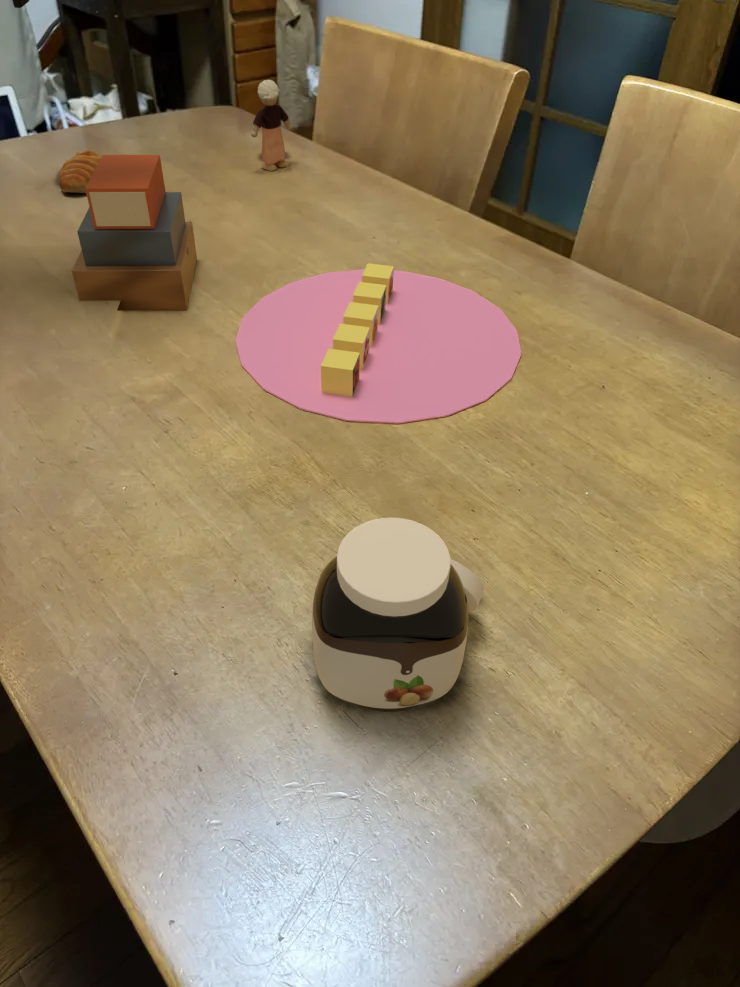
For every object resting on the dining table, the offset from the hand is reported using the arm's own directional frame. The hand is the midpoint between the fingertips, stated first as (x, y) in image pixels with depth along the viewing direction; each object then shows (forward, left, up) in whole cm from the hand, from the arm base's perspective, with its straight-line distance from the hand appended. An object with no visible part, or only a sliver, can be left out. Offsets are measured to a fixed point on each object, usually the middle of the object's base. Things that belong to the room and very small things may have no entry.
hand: (72, 6), depth 74 cm
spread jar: (+28, -58, -29) cm, 70 cm away
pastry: (-11, +29, -29) cm, 42 cm away
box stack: (+2, -3, -29) cm, 29 cm away
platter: (+30, -16, -29) cm, 44 cm away
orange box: (+3, -2, -20) cm, 20 cm away
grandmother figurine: (+17, +36, -29) cm, 49 cm away
